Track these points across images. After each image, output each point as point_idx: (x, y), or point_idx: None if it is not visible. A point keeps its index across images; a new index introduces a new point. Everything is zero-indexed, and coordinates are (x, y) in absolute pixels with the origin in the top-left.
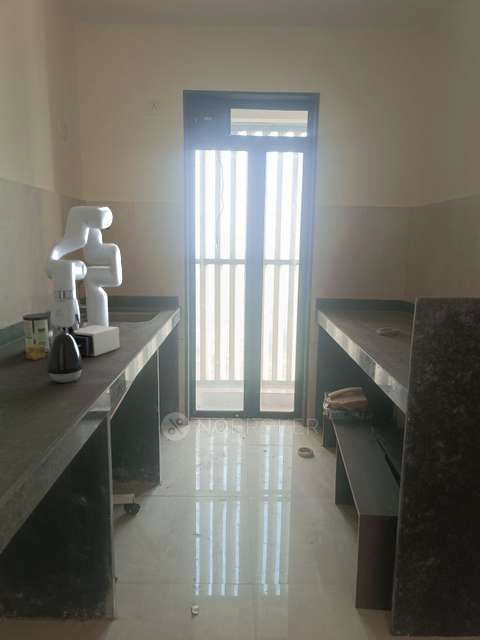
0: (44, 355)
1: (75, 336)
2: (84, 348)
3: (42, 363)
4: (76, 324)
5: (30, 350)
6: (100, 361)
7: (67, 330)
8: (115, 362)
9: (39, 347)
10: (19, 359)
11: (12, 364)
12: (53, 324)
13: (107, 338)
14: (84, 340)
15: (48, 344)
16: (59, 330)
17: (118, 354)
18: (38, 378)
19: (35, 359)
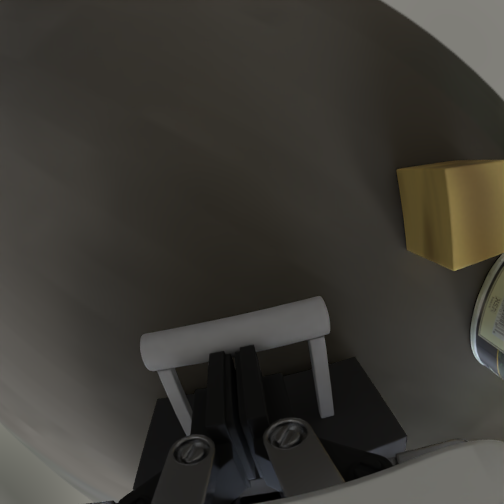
0: (410, 247)
1: (266, 486)
2: (163, 428)
3: (277, 145)
4: None
5: (461, 163)
6: (57, 384)
7: (165, 486)
8: (12, 399)
9: (446, 220)
10: (464, 127)
11: (398, 40)
12: (442, 464)
13: None
14: (150, 473)
15: (494, 341)
16: (358, 449)
17: (126, 483)
18: (31, 17)
19: (396, 170)
